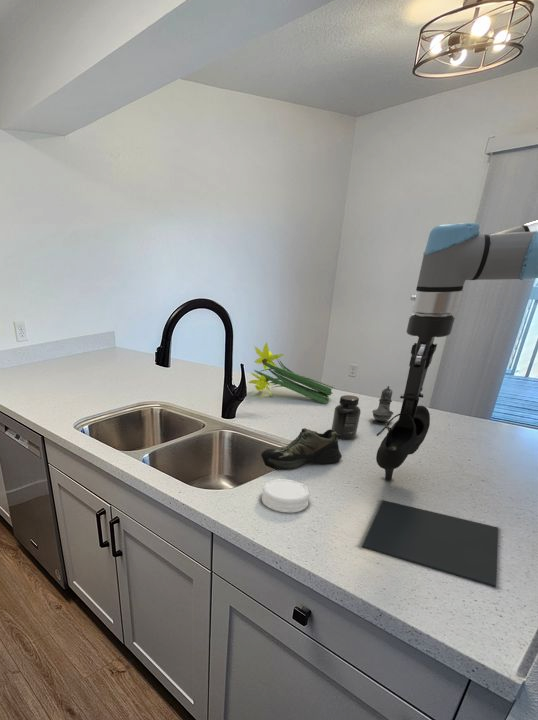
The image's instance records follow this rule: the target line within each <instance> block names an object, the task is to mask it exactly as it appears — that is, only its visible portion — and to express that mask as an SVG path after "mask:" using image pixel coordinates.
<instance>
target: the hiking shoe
mask: <svg viewBox="0 0 538 720" xmlns="http://www.w3.org/2000/svg"><path fill="white" fill-rule="evenodd" d="M338 436H340V435H339V434H337V433H336V432H335V431H334V430H331V429H327V430H326V431H324V433H319V432H317V431H315V430H312V429H309V428H306V427H305V428H302V429H301V431H300V432H299V434H298V435H297V437H295V438H294V439H293V440H292V441H290V443H288V444H287V445H286V446H281V447H276V448H266V449H265V450H263V451H262V452H261V453H260V456H261V459H262V461H263V463H264V465H265V466H266V467H268V468H269V469H270V468H271V470H281V471H283V470H285V471H286V470H294V469H297V468H300V467H301V466H303V465H305V464H314V465H331V464H335V463H337V462H339V461H340V460H341V459H342V456H343V455H342V453H341V452H340V447H339V439H338Z"/></svg>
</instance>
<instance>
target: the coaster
mask: <svg viewBox="0 0 538 720" xmlns="http://www.w3.org/2000/svg"><path fill="white" fill-rule="evenodd" d="M310 494H311V493H310V490H309V488H308V487H307V486H306V485H305V484H303V483H302V482H299V481H296V480H293V479H288V478H287V479H286V478H285V479H283V478H280V479H279V478H277V479H272V480H270V481H267V482H266V483H265V484H263V487H262V492H261V501H262V503H263V505H265V507H267V508H269V509H271V510H273V511H276V512H280V513H286V514H287V513H290V514H291V513H299V512H301V511H304V510H305V509H306V508H307V507H308V505H309V500H310Z"/></svg>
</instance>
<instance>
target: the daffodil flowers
mask: <svg viewBox="0 0 538 720" xmlns="http://www.w3.org/2000/svg"><path fill="white" fill-rule="evenodd" d="M253 347H254V350H255V352H256V354H257V355H258V356H259V358H257V359H255V360H254V363H256V364H258V365H260V364H262V366H263V369H261V370H259V371H258V370H256V369H253V371H254V372H255V373H253V372H252V373H251V372H250V374H251V375H252V377H255V378H256V379H252V380H250V381H248V382H247V383H248V384H255V385H254V388H255V389H256V391H259V392H264V390H265V389H266V390H267V391H268V393H269V394H270V396H271V397H273V395H272V393H271V390H270V387H271V389H274V388H278V387H281V388H282V387H283V388H287V389H288V390H291V391H293V392H295V393H298V394H300V395H302V396H305V397H307V398H309V399H312V400H314V401H316V402H319V403H321V404H323V405H326V404H327V403H328V401H329V400H330V397H329V396H331V395H333V393H334V392H333V390H332V389H334V390H335V389H336V387H335V386H333V385H329V384H327V383H324V382H321V381H319V380H316V379H313V378H310V377H306V376H304V375H300V374H298V373H295V372H294V371H292V370H291V369H289V368H288V367H286V366H285V365H284V363H283V362H282V360H281V359H280V358H281V357H283V356H285V354H284V353H280V354H273V352H272V351H271V350H269V345H268V342H265V344H264V346H263V348H262V350H261V349H260V348H258V347H257V346H255V345H254V346H253ZM274 360H275V361H277V362H278V364H279V366H280V367H279V366H277V365H276V364H275V362H273V361H274ZM263 371H265V372H266V371H269V372H270V373H271V374H272V375H273V376H275V377H273V376H270V375H268V374H266V373H263ZM269 386H270V387H269Z"/></svg>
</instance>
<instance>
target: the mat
mask: <svg viewBox="0 0 538 720" xmlns="http://www.w3.org/2000/svg"><path fill="white" fill-rule="evenodd" d="M380 504H381V505H380V506H379V509H378V511H377V513H376V515H375V517H374V519H373V522H372V524H371V526H370V528H369V530H368V533H367V535H366V537H365V539H364V541H363V543H362V546H361V548H362V549H366V550H370V551H372V552H375V553H376V552H377V553H380V554H383V555H386V556H390V557H392V558H396V559H398V560H399V559H400V560H403V561H406V562H409V563H413V564H415V565H416V564H417V565H419V566H423V567H427V568H430V569H433V570H436V571H439V572H442V573H446V574H450V575H452V576H457V577H460V578H462V579H467V580H470V581H472V582H476V583H480V584H482V585H486V586H490V587H493V588H496V587H497V565H498V563H497V562H498V537H499V535H498V534H499V528H498V526H493V525H489V524H485V523H481V522H476V521H472V520H468V519H464V518H460V517H455V516H451V515H446V514H442V513H438V512H435V511H430V510H427V509H426V510H425V509H422V508H417V507H414V506H409V505H405V504H401V503H396V502H392V501H388V500H385V499H384V500H383V501H382V502H381V503H380Z"/></svg>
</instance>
